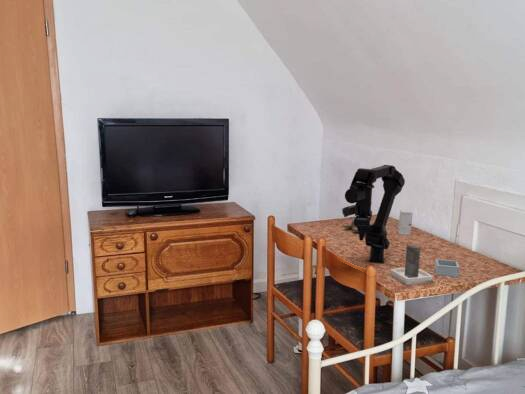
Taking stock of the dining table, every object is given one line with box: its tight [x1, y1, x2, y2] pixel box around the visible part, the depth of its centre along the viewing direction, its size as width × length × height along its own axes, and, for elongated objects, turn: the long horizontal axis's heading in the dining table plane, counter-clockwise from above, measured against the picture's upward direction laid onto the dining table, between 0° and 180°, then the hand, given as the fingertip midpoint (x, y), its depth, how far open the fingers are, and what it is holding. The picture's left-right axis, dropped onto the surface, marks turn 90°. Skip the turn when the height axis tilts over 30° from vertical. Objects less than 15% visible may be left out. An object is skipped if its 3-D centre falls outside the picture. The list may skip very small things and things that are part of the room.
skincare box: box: [397, 209, 414, 236], centre depth 259 cm, size 6×4×12 cm
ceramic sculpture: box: [342, 218, 372, 233], centre depth 265 cm, size 11×9×15 cm
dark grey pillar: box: [404, 244, 421, 278], centre depth 193 cm, size 4×4×12 cm
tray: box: [389, 267, 434, 286], centre depth 194 cm, size 12×12×2 cm
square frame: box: [434, 258, 460, 278], centre depth 202 cm, size 8×8×4 cm
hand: (361, 237), depth 204 cm, fingers open, 9 cm apart
